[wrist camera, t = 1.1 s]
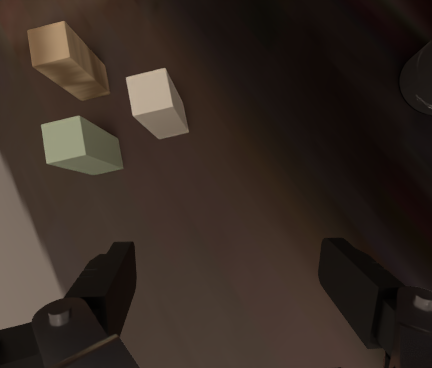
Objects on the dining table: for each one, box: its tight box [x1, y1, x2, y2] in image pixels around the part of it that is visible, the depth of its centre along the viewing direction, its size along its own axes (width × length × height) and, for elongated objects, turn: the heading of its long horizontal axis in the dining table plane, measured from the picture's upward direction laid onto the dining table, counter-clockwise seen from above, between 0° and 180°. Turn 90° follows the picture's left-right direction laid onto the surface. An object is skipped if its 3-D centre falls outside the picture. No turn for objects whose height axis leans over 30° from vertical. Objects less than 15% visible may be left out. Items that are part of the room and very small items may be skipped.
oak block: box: [27, 21, 110, 101], centre depth 37 cm, size 4×4×10 cm
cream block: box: [126, 68, 189, 139], centre depth 35 cm, size 4×4×10 cm
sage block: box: [41, 116, 123, 175], centre depth 35 cm, size 4×4×10 cm
